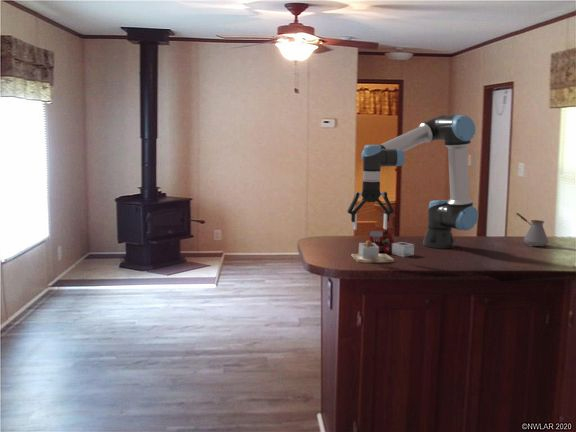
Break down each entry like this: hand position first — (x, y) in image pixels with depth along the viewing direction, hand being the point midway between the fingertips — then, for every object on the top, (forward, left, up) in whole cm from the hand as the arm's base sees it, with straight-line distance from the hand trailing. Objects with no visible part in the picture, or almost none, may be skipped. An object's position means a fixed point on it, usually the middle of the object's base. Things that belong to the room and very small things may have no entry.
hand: (370, 229), depth 260 cm
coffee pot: (-95, -34, -14) cm, 102 cm away
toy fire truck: (-10, -17, -14) cm, 24 cm away
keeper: (-2, 0, -13) cm, 14 cm away
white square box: (0, 0, -12) cm, 12 cm away
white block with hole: (-19, -9, -13) cm, 25 cm away
